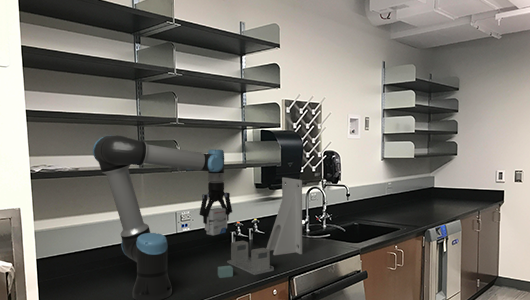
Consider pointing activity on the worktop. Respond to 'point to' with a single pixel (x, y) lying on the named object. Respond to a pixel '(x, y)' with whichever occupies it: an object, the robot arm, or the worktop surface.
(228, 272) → the block
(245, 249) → the box holder
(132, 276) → the worktop surface
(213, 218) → the ink box
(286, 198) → the grey mounting bracket
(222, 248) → the worktop surface
